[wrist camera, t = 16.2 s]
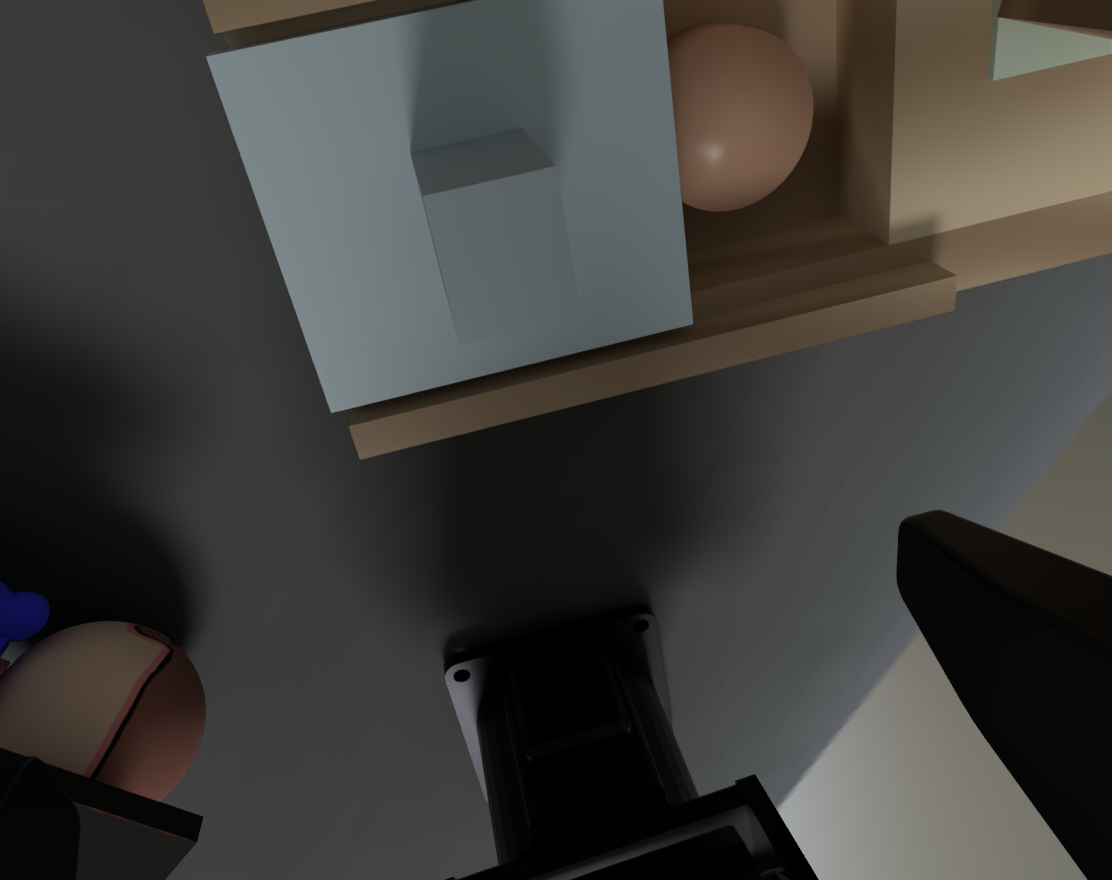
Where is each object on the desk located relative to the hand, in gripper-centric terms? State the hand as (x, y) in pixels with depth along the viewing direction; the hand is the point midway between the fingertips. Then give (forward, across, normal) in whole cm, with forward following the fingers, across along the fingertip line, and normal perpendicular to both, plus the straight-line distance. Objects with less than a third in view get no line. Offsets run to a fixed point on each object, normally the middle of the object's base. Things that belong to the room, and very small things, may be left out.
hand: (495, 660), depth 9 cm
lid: (+10, -1, -2) cm, 10 cm away
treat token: (+12, -7, -2) cm, 14 cm away
